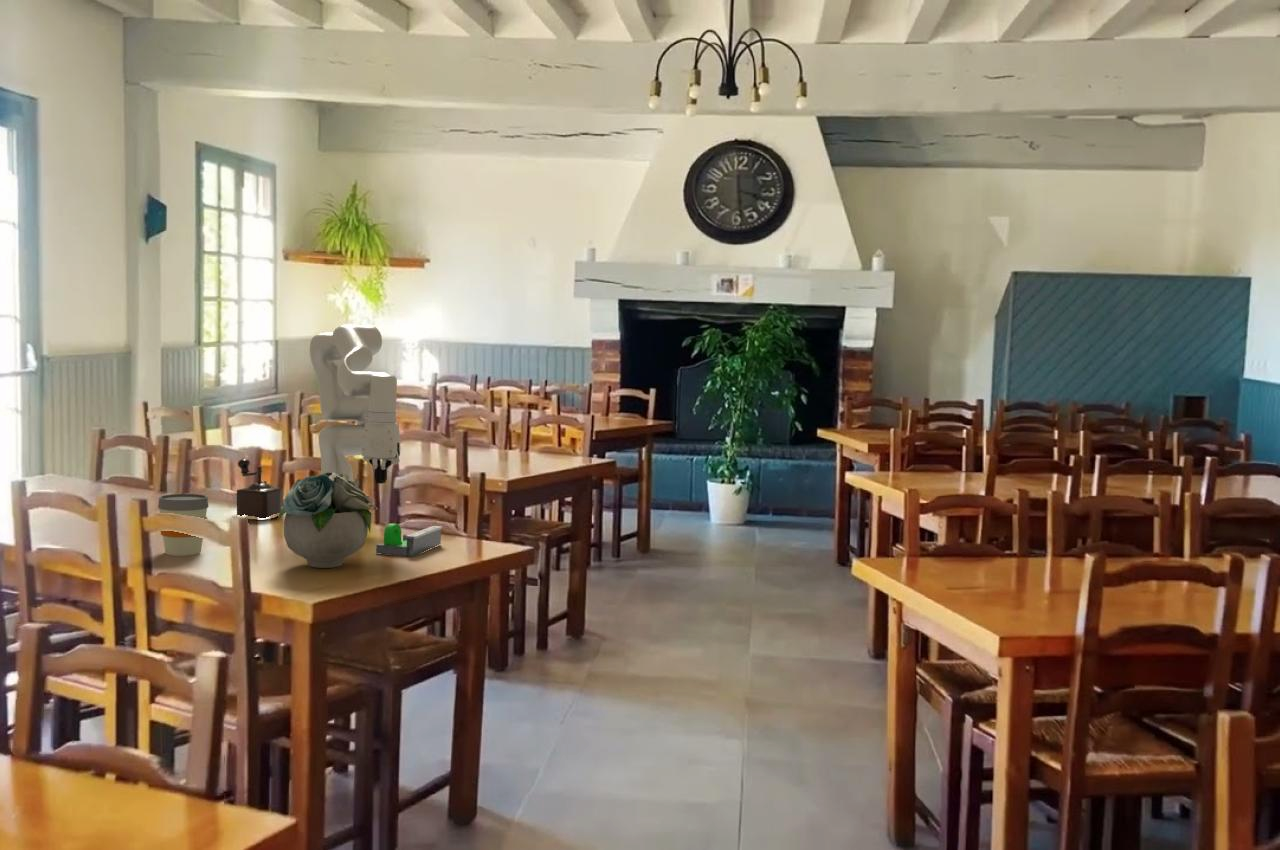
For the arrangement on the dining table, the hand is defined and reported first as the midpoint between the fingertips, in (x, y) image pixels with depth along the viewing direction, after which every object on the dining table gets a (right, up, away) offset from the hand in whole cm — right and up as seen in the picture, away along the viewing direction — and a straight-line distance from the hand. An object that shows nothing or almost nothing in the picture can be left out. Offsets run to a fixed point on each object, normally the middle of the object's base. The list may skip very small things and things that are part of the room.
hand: (380, 482), depth 328 cm
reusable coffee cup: (-49, -18, -17) cm, 55 cm away
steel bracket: (+8, -19, -1) cm, 20 cm away
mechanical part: (+7, -19, -2) cm, 21 cm away
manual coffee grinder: (-51, -13, +44) cm, 68 cm away
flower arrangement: (-8, -20, -27) cm, 35 cm away
